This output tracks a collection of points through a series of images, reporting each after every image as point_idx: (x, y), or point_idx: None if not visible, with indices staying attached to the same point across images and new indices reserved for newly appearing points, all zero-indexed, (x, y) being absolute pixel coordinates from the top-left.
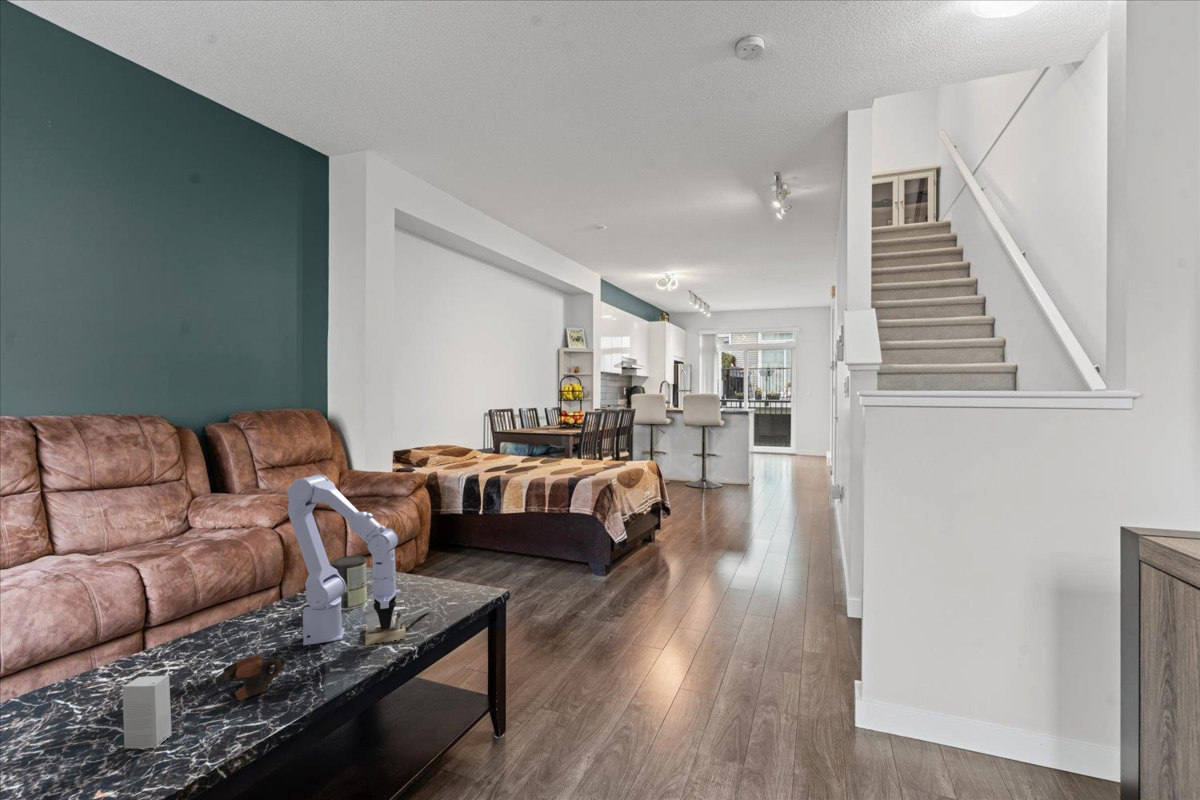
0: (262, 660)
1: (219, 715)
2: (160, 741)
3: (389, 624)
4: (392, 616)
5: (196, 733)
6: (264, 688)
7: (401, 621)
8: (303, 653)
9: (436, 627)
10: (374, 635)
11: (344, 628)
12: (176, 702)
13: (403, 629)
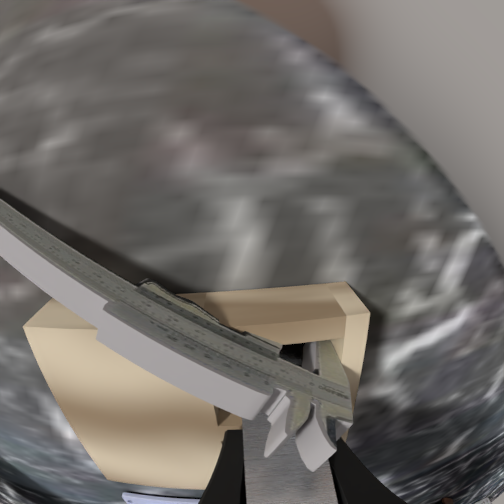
0: None
1: (467, 498)
2: (486, 501)
3: (338, 440)
4: (262, 464)
5: (488, 489)
6: (446, 501)
7: (302, 378)
8: None
9: (194, 59)
10: None
11: (130, 496)
12: None
13: (355, 328)
